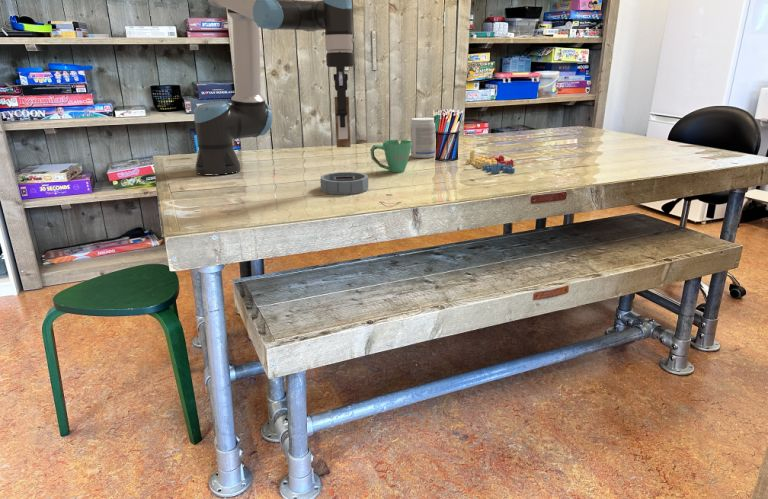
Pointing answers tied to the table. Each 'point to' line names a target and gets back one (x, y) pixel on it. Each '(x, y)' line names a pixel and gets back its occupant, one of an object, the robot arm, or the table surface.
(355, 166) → the table surface
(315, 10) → the robot arm
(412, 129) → the supplement tub
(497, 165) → the toy parts cluster
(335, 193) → the grey ridged lid
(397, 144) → the mug
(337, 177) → the clip
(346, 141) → the brown wooden block
